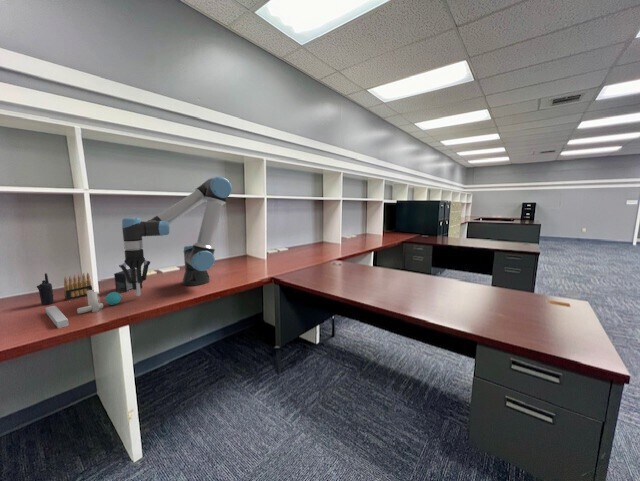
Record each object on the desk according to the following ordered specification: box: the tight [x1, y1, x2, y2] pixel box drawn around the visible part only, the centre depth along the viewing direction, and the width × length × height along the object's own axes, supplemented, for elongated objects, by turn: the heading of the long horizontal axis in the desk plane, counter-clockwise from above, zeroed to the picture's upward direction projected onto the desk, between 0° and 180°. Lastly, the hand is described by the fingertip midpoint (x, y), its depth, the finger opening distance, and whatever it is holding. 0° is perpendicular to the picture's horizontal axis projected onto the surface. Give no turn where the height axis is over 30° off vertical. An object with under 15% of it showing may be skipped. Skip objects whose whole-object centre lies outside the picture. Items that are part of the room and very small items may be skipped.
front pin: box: [76, 302, 104, 315], centre depth 117 cm, size 2×2×8 cm
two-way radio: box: [36, 272, 55, 305], centre depth 124 cm, size 6×4×15 cm
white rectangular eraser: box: [45, 305, 69, 329], centre depth 108 cm, size 3×24×2 cm, turn 54°
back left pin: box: [90, 291, 100, 313], centre depth 116 cm, size 2×2×8 cm
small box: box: [113, 268, 138, 293], centre depth 147 cm, size 11×6×10 cm, turn 178°
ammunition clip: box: [63, 272, 93, 302], centre depth 133 cm, size 11×2×12 cm, turn 152°
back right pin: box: [86, 289, 95, 306], centre depth 119 cm, size 2×2×8 cm
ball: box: [105, 291, 122, 306], centre depth 124 cm, size 6×6×6 cm
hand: (138, 295), depth 132 cm, fingers closed
